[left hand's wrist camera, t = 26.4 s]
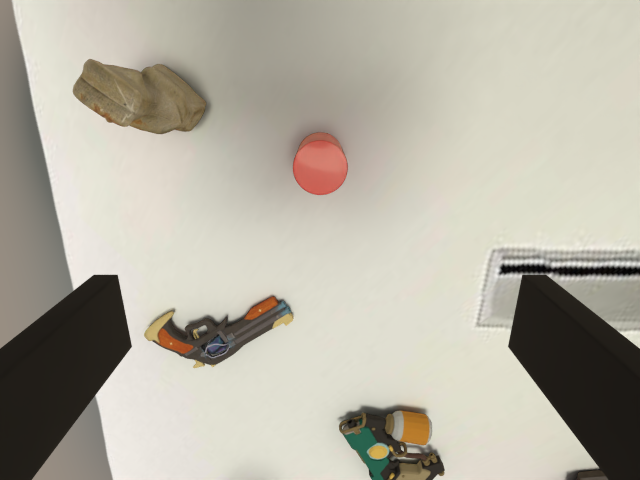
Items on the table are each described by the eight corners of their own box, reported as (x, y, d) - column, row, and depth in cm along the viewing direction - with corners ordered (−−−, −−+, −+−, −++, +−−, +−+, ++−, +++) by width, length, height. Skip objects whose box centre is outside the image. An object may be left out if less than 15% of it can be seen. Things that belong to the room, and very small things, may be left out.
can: (301, 128, 46) (297, 135, 37) (346, 137, 46) (352, 145, 38) (294, 173, 48) (288, 189, 39) (337, 181, 48) (341, 199, 40)
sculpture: (166, 54, 43) (91, 34, 29) (219, 100, 44) (173, 102, 30) (138, 97, 44) (53, 97, 30) (190, 140, 46) (133, 159, 32)
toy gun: (136, 334, 52) (180, 390, 54) (253, 261, 50) (295, 323, 52) (145, 325, 55) (187, 379, 57) (256, 256, 53) (296, 315, 55)
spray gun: (441, 469, 65) (352, 478, 67) (435, 395, 59) (336, 407, 60) (448, 495, 61) (354, 503, 63) (443, 419, 55) (337, 430, 56)
